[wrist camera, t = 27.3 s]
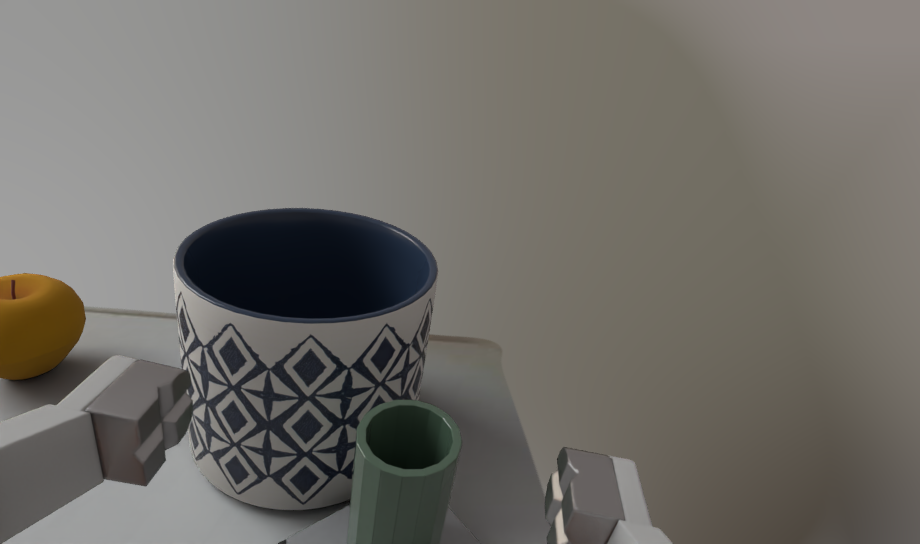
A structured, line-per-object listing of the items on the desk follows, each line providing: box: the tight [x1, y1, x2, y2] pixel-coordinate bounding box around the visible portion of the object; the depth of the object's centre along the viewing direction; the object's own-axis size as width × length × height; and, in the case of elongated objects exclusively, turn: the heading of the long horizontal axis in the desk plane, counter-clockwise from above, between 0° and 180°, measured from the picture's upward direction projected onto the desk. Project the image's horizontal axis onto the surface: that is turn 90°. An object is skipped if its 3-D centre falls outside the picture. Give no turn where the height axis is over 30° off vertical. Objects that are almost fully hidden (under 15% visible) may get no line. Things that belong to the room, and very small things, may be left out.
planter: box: [173, 208, 438, 510], centre depth 42 cm, size 18×18×16 cm
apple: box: [0, 273, 86, 380], centre depth 44 cm, size 9×9×9 cm
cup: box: [346, 400, 462, 544], centre depth 30 cm, size 6×6×10 cm
